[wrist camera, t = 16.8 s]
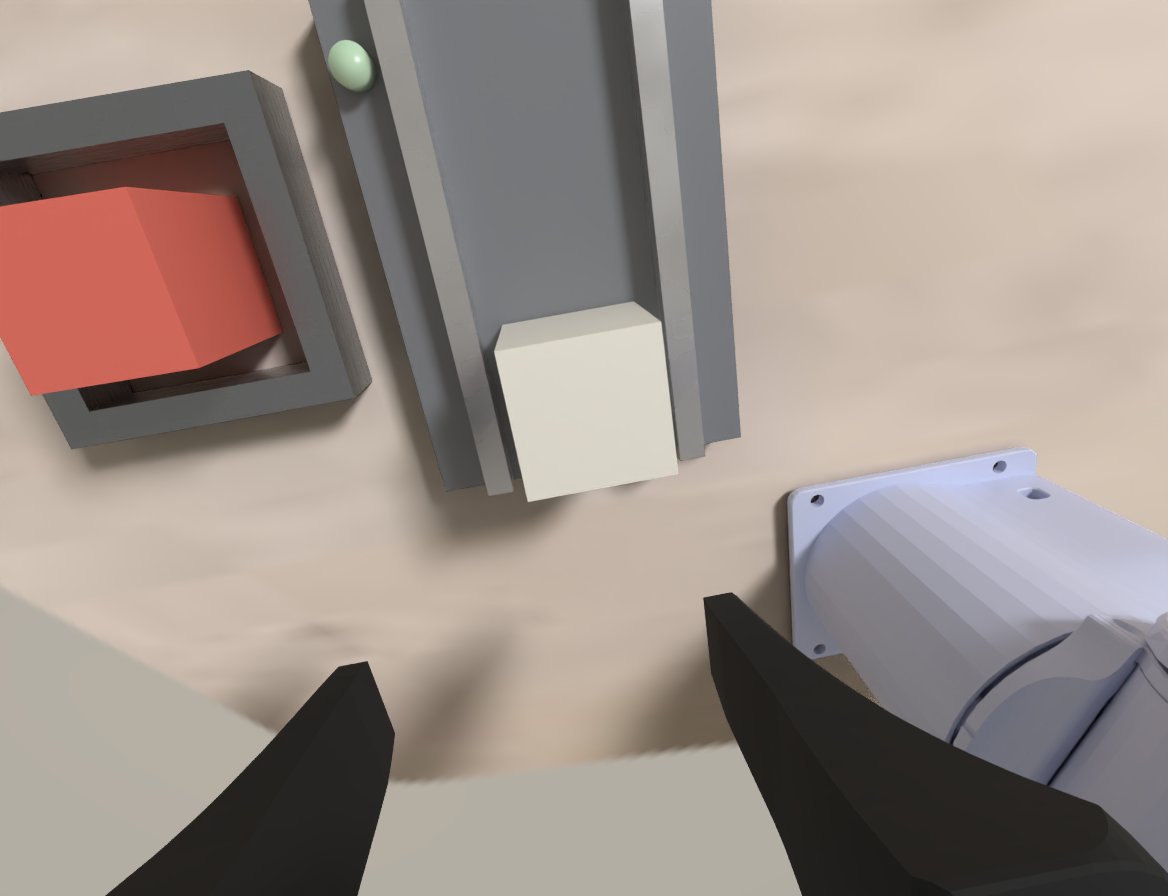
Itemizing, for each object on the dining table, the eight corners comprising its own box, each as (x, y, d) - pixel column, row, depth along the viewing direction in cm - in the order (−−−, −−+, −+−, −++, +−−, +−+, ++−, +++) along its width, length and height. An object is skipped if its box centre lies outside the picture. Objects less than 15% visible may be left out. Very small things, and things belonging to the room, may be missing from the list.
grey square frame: (281, 88, 16) (248, 70, 14) (372, 381, 19) (354, 397, 17) (-25, 140, 16) (-98, 129, 14) (116, 427, 19) (71, 449, 17)
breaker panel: (689, -60, 16) (716, -110, 13) (726, 422, 21) (751, 447, 18) (323, 2, 15) (286, -38, 13) (452, 473, 21) (441, 504, 18)
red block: (237, 197, 17) (125, 186, 12) (283, 331, 18) (199, 367, 14) (101, 218, 17) (-64, 216, 12) (158, 352, 18) (31, 395, 14)
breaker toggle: (633, 301, 17) (661, 321, 14) (649, 424, 19) (678, 474, 15) (502, 324, 17) (494, 351, 14) (528, 447, 19) (527, 501, 15)
